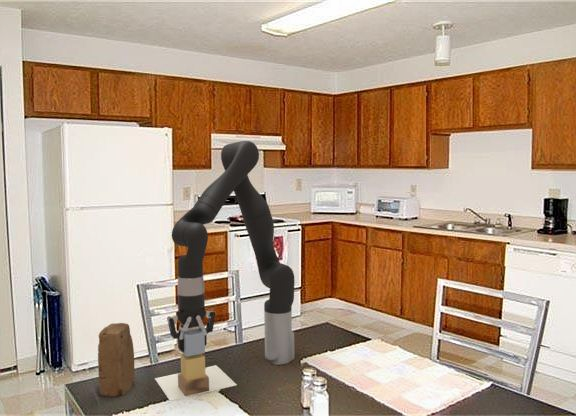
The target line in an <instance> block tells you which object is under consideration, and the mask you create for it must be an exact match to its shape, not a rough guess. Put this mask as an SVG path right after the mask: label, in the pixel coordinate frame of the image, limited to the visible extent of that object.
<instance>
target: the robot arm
mask: <svg viewBox="0 0 576 416" xmlns="http://www.w3.org/2000/svg"><path fill="white" fill-rule="evenodd" d="M220 160H221V163H222V167H223V169H224V172H223V173H222V174H221V175H219V177H217V178H216V179H215V180H214V181H212V183H211V184H210V185H208V186H207V188H206V189H204V191H203V192H202V194H201V195H200V196H199V198H198V200H197V201H196V202H195V203H194V205H193V207H192V208H191V209H189V210H188V211H187V212H186V213H184V215H182V217H180V219H177V221H176V223H175V224H174V226H173V228H172V231H171V239H172V241H173V243H174V244H175V245H176V246H179V247H184V248H185V247H186V248H187V251H186V254H183V255H181V256H180V257H179V258H178V259H177V313H176V314H175V315H173V316H167V318H166V319H167V320H166V321H167V325H168V328H169V332H170V337H172V338H173V339H174V340H175V339H177V348H178V351H180V352H181V353H182V352H184V339H183V338H184V334H185V332H186V331H187V329H191V328H197V327H198V328H199V329H201V331H203V332H204V336H205V347H206V346H207V343H208V342H207V339H208V337H207V335H208V334H209V333H213V331H214V326H215V325H214V324H215V319H216V312H215V311H214V310H212V309H210V310H206V309H205V307H206V306H205V304H206V302H205V301H206V300H205V291H206V290H205V281H204V265H203V262H204V258H205V254H206V250H207V246H208V243H209V236H208V235H209V232H208V230H207V228H206V226H204V225H207V224H211V223H213V221H214V220H215V219H216V217H217V216H218V214H219V212H220V211H221V209H222V208H223V206H224V204H225V202H227V200H228V198H229V197H230V196H231V195H232V194H233V192H234V195H235V197H236V201H237V203H238V206H239V210H240V213H241V216H242V220H243V223H244V226H245V229H246V232H247V235H248V238H249V241H250V243H251V246H252V250H253V252H254V255H255V256H254V257H255V260H256V265H257V270H258V274H259V278H260V281H261V283H262V285H264V286H265V287H266V288H268V289H269V299H267V300H265V302H264V305H263V307H264V308H263V310H264V312H263V313H264V314H263V317H264V318H263V319H264V320H263V321H264V322H263V323H264V360H265V361H267V362H268V363H269V364H271V365H275V366H276V365H286V364H289V363H290V362H292V361H295V332H294V331H293V325H292V324H293V322H292V321H293V319H292V318H293V316H292V313H293V312H292V307H293V304H294V300H295V284H296V283H295V282H296V281H295V274H294V271H293V269H292V268H291V267H290V266H289V265H287V264H284V263H281V262H280V260H279V258H278V256H277V253H276V250H275V247H274V234H275V233H274V232H275V225H274V220H273V216H272V213H271V210H270V206H269V204H268V203H267V201H266V200H265V198H264V197H263V196H262V195H261V194H260V192H259V191H258V190H257V189H256V187H254V185H253V184H252V182H251V181H250V178H249V174H250V173H251V172H252V170H253V169H254V168H255V167H256V166H257V164H258V161H259V160H260V152H259V149H258V146H257V144H255V143H254V142H253V141H249V140H241V141H237V142H232V143H227V144H226V145H224V146H223V148H222V149H221V152H220ZM205 317H206V318H207V321H206V326H205V325H204V323H203V320H204V319H205ZM177 321H179V322H180V324H179V327H178V331H177V330H176V324H177Z"/></svg>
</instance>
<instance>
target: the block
mask: <svg viewBox="0 0 576 416" xmlns="http://www.w3.org/2000/svg"><path fill="white" fill-rule="evenodd" d="M130 329H131V328H130V325H129V324H128V323H125V322H124V323H123V322H119V323H110V324H109V325H107V326H104V328H103V329H101V331H100V332H99V334H98V339H99V340H98V342H99V343H98V345H97V351H98V353H97V363H98V365H97V366H98V370H97V371H98V384H99V385H98V386H99V387H98V388H99V393H100V396H104V397H118V396H125V394H126V393H128V392H129V391H130V390H131V388H132V387H133V384H134V380H135V349H134V342H133V338H132V334H131V330H130Z"/></svg>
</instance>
